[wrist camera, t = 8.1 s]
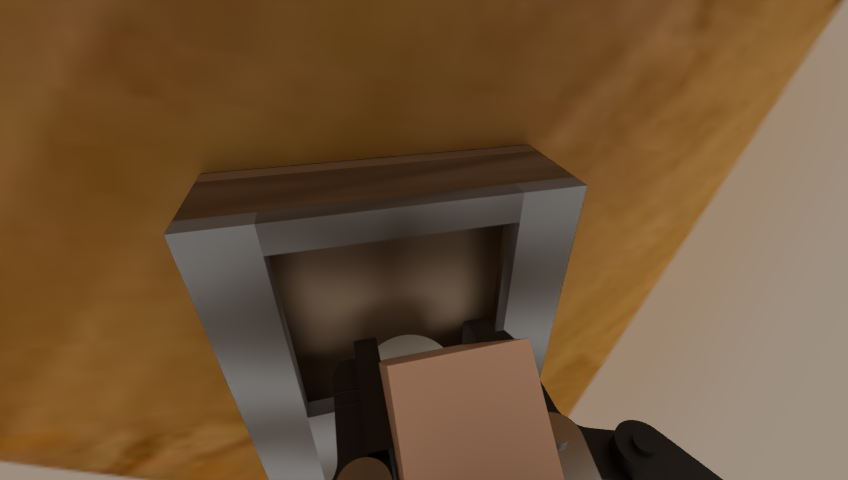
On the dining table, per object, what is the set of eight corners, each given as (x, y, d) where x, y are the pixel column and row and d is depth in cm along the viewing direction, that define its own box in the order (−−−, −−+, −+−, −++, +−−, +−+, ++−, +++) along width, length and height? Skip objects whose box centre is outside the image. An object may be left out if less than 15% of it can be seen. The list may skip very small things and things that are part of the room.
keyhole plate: (199, 174, 15) (163, 234, 11) (529, 144, 18) (587, 185, 14) (293, 453, 26) (291, 531, 22) (489, 407, 29) (516, 469, 25)
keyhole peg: (351, 345, 18) (339, 331, 8) (444, 328, 19) (553, 293, 8) (365, 450, 17) (375, 614, 6) (463, 426, 18) (618, 534, 7)
